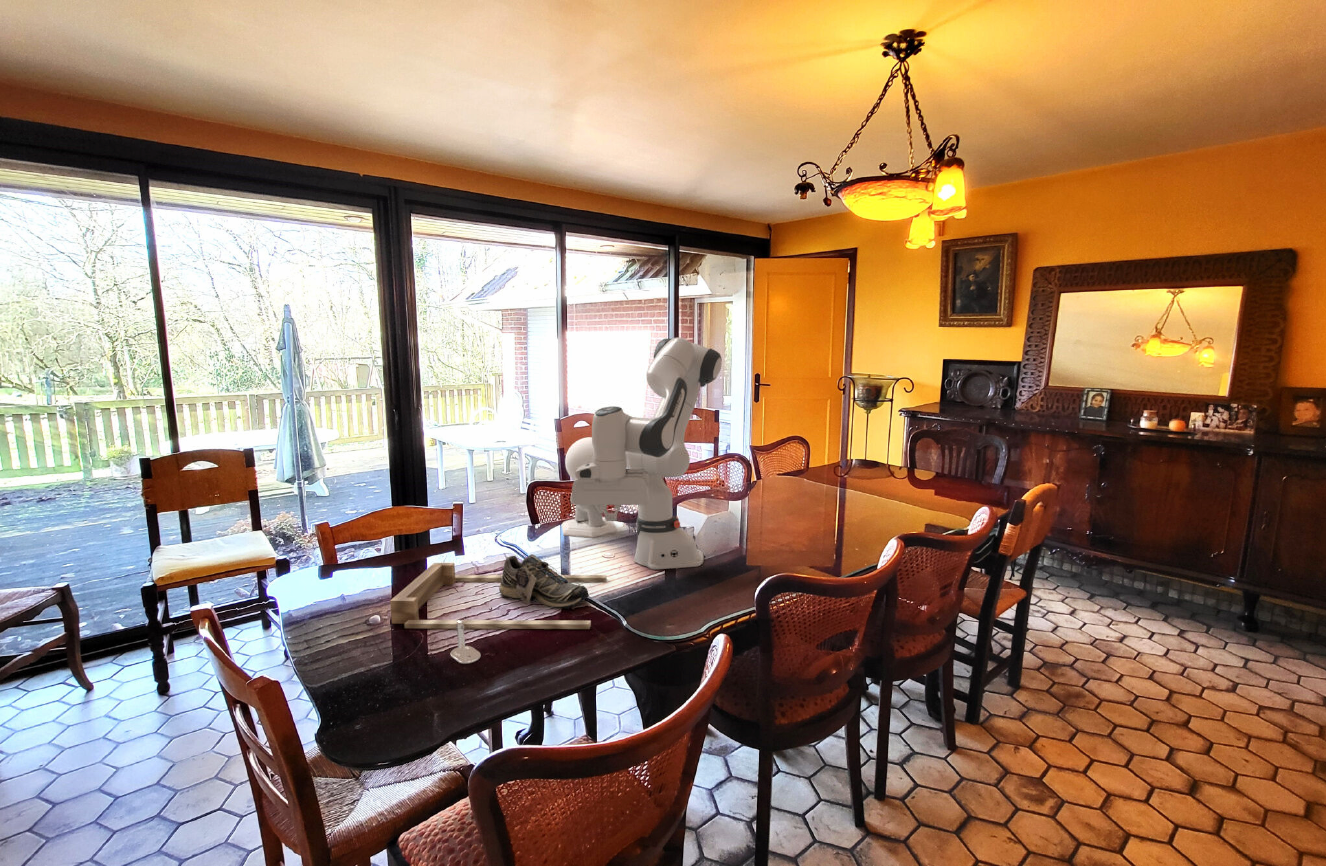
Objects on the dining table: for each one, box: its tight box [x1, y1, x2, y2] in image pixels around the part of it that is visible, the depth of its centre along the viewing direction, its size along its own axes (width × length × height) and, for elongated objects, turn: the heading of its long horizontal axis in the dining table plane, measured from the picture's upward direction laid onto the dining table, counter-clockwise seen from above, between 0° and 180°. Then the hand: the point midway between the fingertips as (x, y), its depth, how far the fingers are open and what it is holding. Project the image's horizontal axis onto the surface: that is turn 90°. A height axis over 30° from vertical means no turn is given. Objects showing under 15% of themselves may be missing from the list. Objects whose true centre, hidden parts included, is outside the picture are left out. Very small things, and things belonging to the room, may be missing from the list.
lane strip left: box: [403, 619, 592, 630], centre depth 143 cm, size 46×2×1 cm, turn 88°
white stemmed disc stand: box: [450, 621, 481, 665], centre depth 130 cm, size 8×5×8 cm
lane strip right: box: [455, 574, 607, 583], centre depth 172 cm, size 46×2×1 cm, turn 88°
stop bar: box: [389, 562, 456, 624], centre depth 158 cm, size 6×26×6 cm, turn 178°
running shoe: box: [498, 553, 590, 610], centre depth 158 cm, size 12×28×12 cm, turn 69°
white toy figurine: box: [561, 436, 618, 538], centre depth 219 cm, size 20×23×35 cm
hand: (611, 520), depth 153 cm, fingers closed
